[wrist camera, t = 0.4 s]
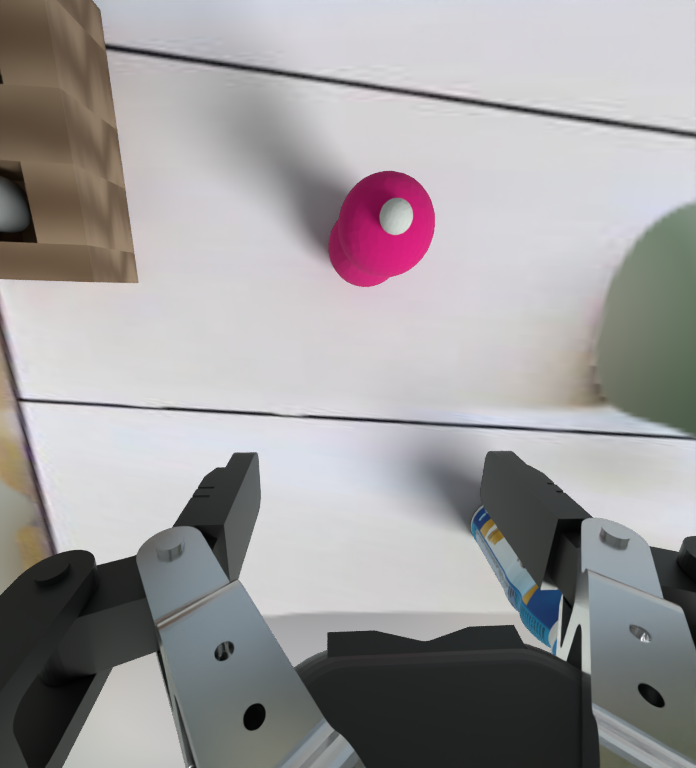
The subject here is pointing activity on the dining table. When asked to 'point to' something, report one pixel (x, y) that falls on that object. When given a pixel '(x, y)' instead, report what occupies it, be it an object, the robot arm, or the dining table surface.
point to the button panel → (61, 145)
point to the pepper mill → (381, 229)
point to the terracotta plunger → (13, 207)
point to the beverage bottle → (518, 581)
